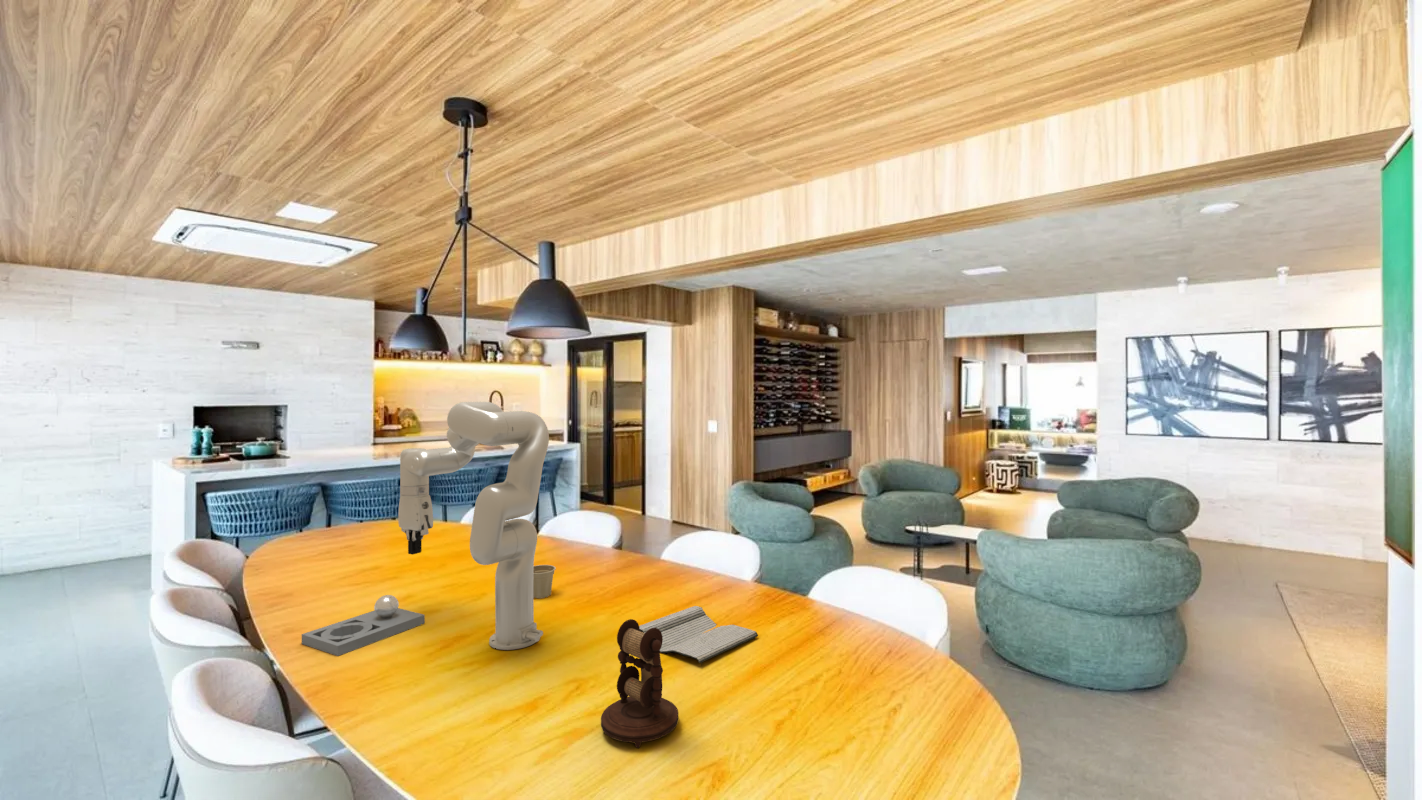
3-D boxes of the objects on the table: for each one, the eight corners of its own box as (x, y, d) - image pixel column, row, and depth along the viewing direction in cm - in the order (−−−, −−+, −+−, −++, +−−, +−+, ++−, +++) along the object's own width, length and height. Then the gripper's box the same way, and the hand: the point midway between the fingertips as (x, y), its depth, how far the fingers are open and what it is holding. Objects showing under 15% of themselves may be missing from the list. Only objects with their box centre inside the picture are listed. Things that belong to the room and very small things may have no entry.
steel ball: (403, 615, 169) (403, 593, 169) (383, 622, 163) (382, 600, 163) (390, 611, 171) (389, 590, 171) (369, 618, 166) (369, 597, 166)
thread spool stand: (694, 725, 115) (693, 622, 115) (636, 760, 104) (635, 646, 104) (643, 700, 125) (642, 605, 125) (585, 730, 114) (584, 625, 114)
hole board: (424, 623, 169) (424, 614, 169) (337, 656, 148) (337, 645, 148) (389, 614, 176) (389, 605, 176) (301, 643, 155) (301, 634, 155)
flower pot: (537, 602, 186) (537, 574, 186) (519, 596, 191) (519, 569, 191) (561, 594, 193) (561, 567, 193) (543, 589, 199) (543, 563, 199)
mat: (699, 671, 140) (699, 650, 140) (632, 644, 155) (632, 626, 155) (758, 640, 157) (758, 622, 157) (693, 619, 172) (692, 602, 172)
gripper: (442, 490, 175) (442, 553, 175) (410, 487, 182) (410, 547, 182) (419, 494, 168) (419, 559, 169) (386, 490, 175) (386, 553, 176)
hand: (414, 553), depth 175 cm, fingers closed
